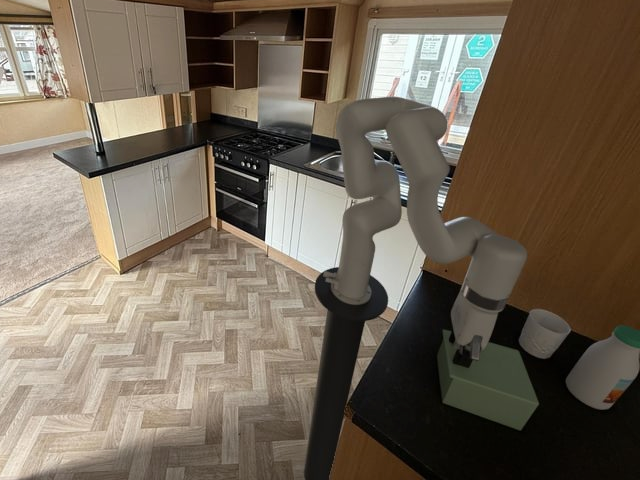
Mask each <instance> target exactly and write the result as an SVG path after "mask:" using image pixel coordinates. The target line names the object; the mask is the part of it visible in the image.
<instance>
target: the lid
mask: <svg viewBox="0 0 640 480" xmlns="http://www.w3.org/2000/svg"><path fill="white" fill-rule="evenodd" d="M451 332H452V330H447V329H445V328H444V329H442V335H443V337H442V338H443V339H444V344H445V351H446V357H447V364H448V371H449V377H452V378H455V379H458V380H461V381H464V382H467V383H470V384H473V385H476V386H479V387H482V388H485V389H488V390H491V391H494V392H497V393H500V394H503V395H507V396H510V397H513V398H516V399H519V400H522V401H525V402H528V403H531V404H534V405H537V407H538V406H539V405H540V403H539V400H538V397H537V395H536V392H535V389H534V387H533V384H532V382H531V379H530V377H529V374H528V371H527V369H526V365H525V363H524V361H523V358H522V355H521V353H520V351H519V350H518V349H514V348H511V347H508V346H504V345H500V344H497V343H493V342H489V341H488V344H487V345H486V347H485V348H484V349H483V350H482V351H481V350H480V352H479V360H478V361H476V360H473V361H472V363H471V365H470V367H469V368H466V367H463V366H459V365H456V364H453V361H452V360H453V358H454V355H455V353H456V350H457V349H459V348H460V345H459V344H458V343H457V341H456V339H455V341H454V344H453V343H450V342H449V337H450V334H451ZM470 348H471V346H467V345H465V350H468V351H470Z"/></svg>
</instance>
